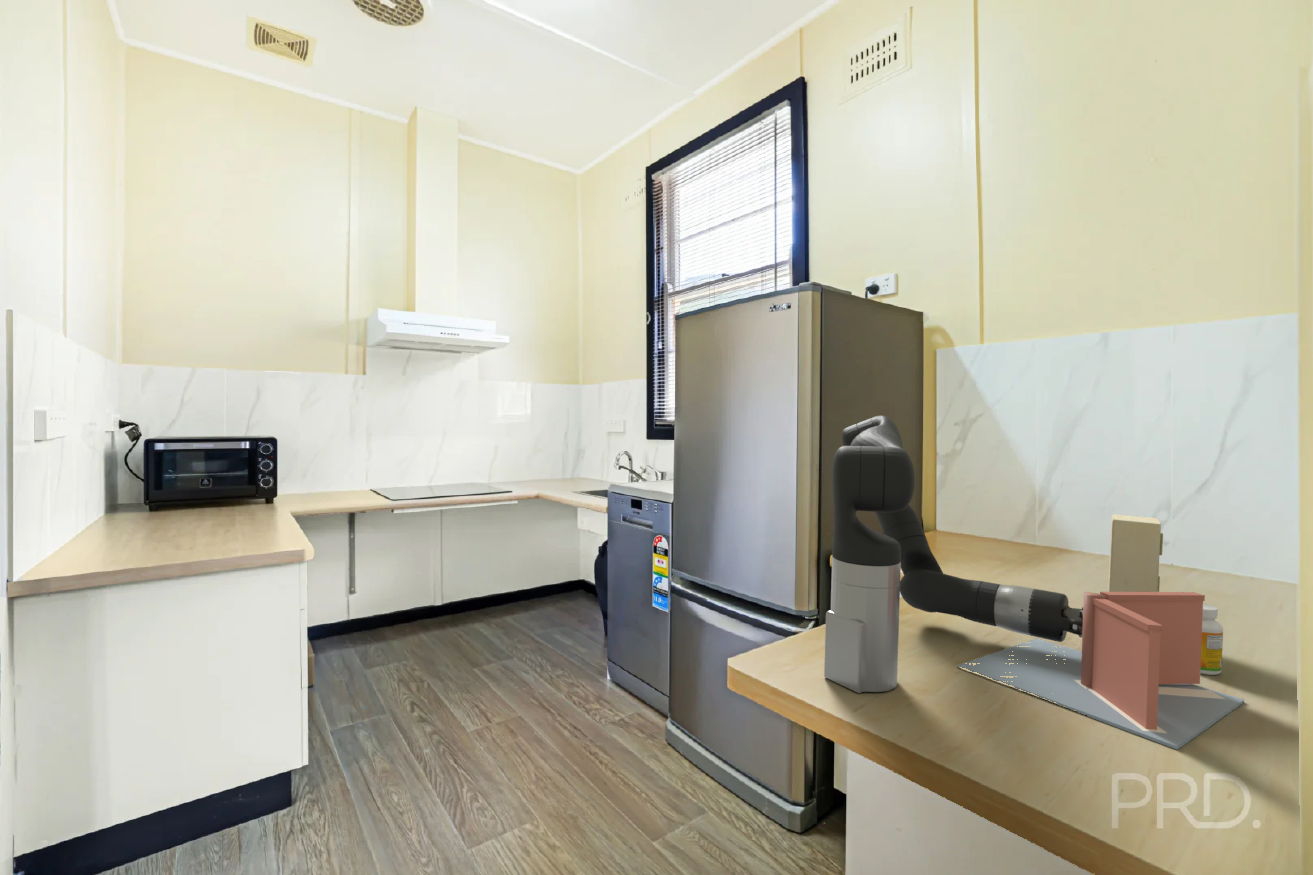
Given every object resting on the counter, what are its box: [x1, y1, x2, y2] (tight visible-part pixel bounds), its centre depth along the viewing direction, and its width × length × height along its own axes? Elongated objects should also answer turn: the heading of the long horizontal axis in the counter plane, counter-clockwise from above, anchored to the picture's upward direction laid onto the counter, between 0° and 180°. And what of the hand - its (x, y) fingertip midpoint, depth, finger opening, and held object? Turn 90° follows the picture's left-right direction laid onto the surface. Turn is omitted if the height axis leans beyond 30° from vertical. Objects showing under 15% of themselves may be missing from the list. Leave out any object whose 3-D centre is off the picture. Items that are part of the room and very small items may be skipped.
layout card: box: [957, 637, 1245, 751], centre depth 85 cm, size 24×26×1 cm
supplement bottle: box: [1200, 603, 1224, 676], centre depth 91 cm, size 5×5×10 cm
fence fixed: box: [1081, 591, 1163, 730], centre depth 78 cm, size 14×2×13 cm, turn 172°
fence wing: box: [1099, 591, 1206, 685], centre depth 84 cm, size 14×2×13 cm, turn 93°
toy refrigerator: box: [1107, 514, 1164, 592], centre depth 104 cm, size 8×7×21 cm
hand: (1171, 639), depth 85 cm, fingers closed
